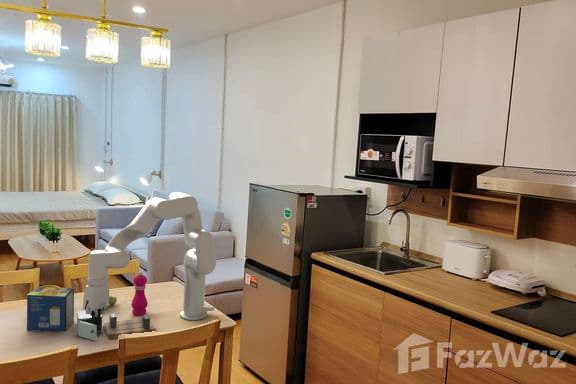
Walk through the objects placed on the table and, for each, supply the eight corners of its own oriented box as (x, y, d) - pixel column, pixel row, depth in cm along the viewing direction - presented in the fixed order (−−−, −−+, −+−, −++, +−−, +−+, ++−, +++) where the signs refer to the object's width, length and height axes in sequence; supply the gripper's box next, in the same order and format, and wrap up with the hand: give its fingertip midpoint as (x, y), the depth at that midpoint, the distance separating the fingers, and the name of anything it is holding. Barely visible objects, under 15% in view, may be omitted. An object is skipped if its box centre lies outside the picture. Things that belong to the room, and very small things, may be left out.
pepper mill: (141, 309, 226) (142, 268, 224) (150, 313, 221) (151, 272, 219) (128, 313, 220) (129, 271, 218) (136, 317, 216) (138, 275, 214)
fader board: (149, 321, 212) (150, 307, 211) (155, 333, 200) (156, 318, 200) (104, 327, 203) (104, 312, 202) (107, 339, 192) (108, 323, 191)
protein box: (37, 321, 205) (37, 286, 203) (74, 322, 206) (74, 288, 204) (25, 331, 194) (26, 294, 193) (64, 332, 196) (65, 296, 194)
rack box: (99, 324, 205) (100, 309, 205) (102, 332, 197) (102, 316, 197) (77, 327, 201) (77, 311, 201) (78, 335, 193) (78, 319, 193)
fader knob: (115, 323, 202) (115, 313, 202) (116, 326, 199) (116, 316, 198) (109, 324, 201) (109, 313, 201) (110, 327, 198) (110, 317, 197)
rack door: (96, 339, 190) (96, 324, 189) (92, 341, 188) (93, 326, 187) (78, 334, 193) (78, 319, 193) (74, 336, 192) (74, 321, 191)
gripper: (104, 275, 199) (102, 317, 201) (76, 283, 185) (74, 328, 187) (118, 278, 196) (116, 321, 198) (90, 287, 182) (88, 333, 184)
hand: (96, 324), depth 192 cm, fingers closed
